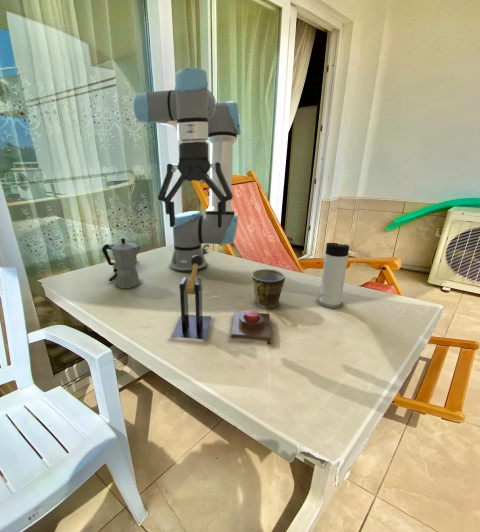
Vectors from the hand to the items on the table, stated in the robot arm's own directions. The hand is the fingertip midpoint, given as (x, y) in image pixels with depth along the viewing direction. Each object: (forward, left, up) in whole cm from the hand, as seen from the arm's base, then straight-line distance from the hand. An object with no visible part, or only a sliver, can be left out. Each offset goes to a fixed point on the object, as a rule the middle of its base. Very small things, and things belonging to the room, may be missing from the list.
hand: (195, 226), depth 83 cm
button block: (+7, +16, -27) cm, 32 cm away
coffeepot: (-19, -32, -28) cm, 46 cm away
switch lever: (+4, 0, -14) cm, 14 cm away
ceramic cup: (-8, +20, -28) cm, 35 cm away
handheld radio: (-31, -38, -28) cm, 56 cm away
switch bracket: (+9, 0, -27) cm, 29 cm away
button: (+7, +16, -24) cm, 29 cm away
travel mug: (-12, +40, -28) cm, 50 cm away
